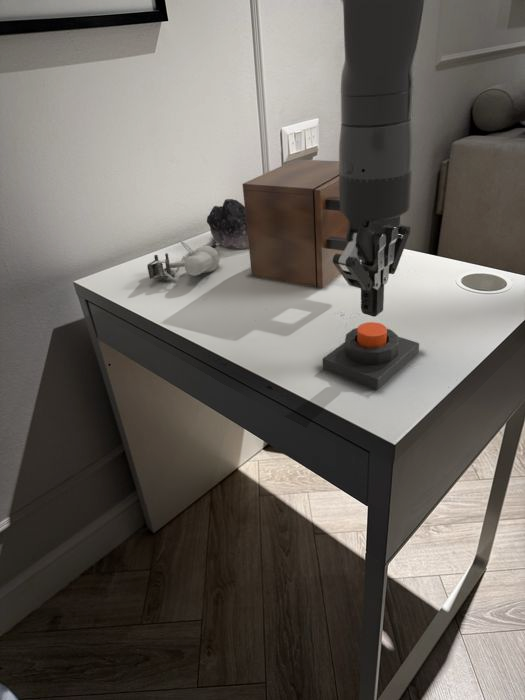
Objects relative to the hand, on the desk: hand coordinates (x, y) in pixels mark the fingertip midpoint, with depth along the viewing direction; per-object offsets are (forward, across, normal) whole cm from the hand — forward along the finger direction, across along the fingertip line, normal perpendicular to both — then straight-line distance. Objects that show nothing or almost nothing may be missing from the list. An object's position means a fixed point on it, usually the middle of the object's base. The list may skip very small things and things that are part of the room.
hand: (372, 312), depth 63 cm
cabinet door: (+8, +23, +18) cm, 30 cm away
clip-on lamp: (+8, +8, +45) cm, 46 cm away
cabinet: (+8, +21, +28) cm, 36 cm away
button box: (+7, 0, 0) cm, 7 cm away
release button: (+4, 0, 0) cm, 4 cm away
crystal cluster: (+8, +25, +49) cm, 56 cm away
